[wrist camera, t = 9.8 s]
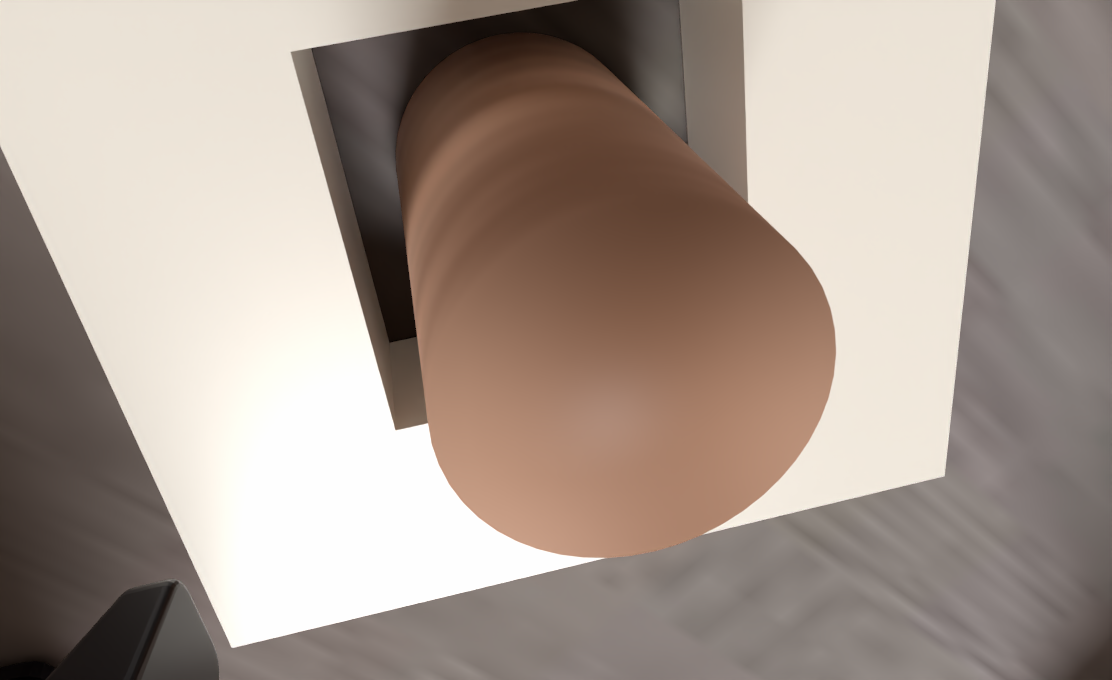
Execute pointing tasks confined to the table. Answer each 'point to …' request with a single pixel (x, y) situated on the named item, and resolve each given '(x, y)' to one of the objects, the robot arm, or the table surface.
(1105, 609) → the table surface
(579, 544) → the peg
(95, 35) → the socket
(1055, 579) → the table surface
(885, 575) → the table surface
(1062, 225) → the table surface
